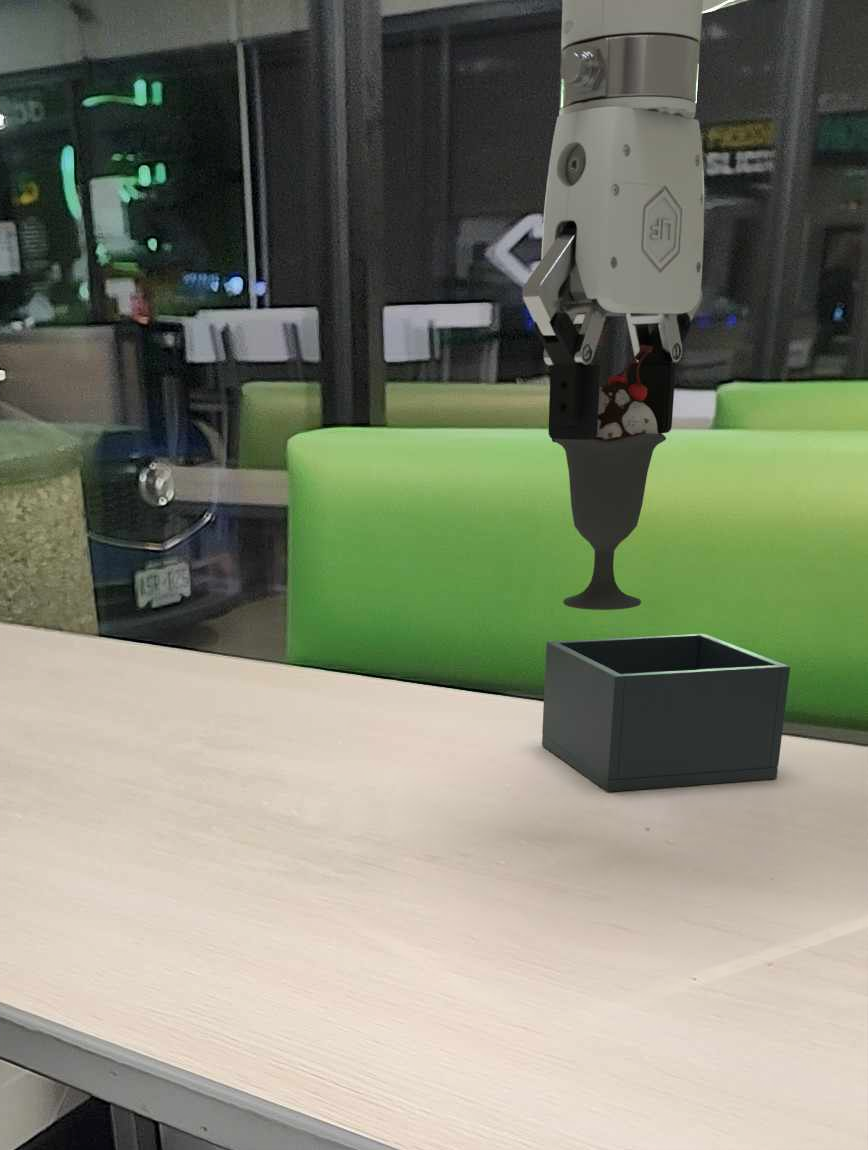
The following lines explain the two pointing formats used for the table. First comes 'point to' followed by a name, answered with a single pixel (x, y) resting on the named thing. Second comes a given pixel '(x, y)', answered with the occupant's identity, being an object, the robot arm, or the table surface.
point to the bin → (663, 711)
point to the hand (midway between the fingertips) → (611, 433)
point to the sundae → (611, 482)
